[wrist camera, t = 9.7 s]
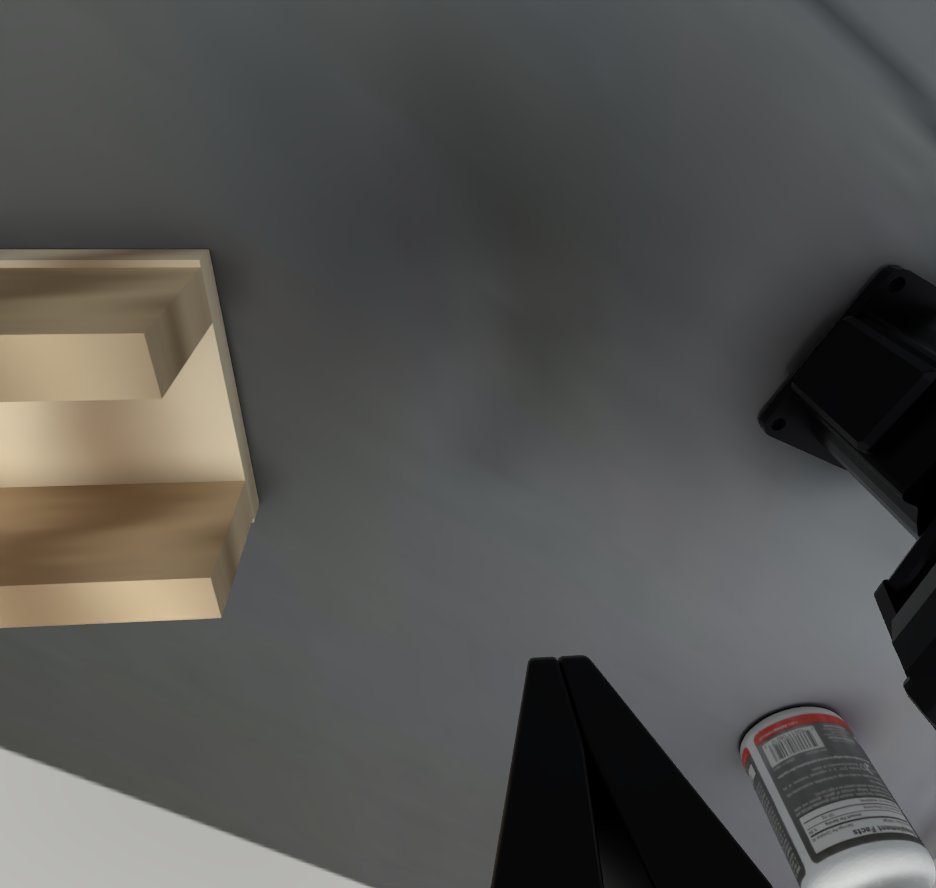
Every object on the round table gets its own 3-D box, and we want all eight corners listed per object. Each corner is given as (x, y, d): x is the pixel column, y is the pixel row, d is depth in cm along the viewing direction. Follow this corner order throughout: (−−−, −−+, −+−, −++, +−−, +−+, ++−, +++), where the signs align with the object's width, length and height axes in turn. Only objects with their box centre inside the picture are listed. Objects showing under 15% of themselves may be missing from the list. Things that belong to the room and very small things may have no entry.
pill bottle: (810, 766, 36) (929, 985, 28) (719, 762, 35) (815, 989, 27) (862, 704, 33) (1014, 929, 25) (764, 698, 32) (888, 930, 24)
